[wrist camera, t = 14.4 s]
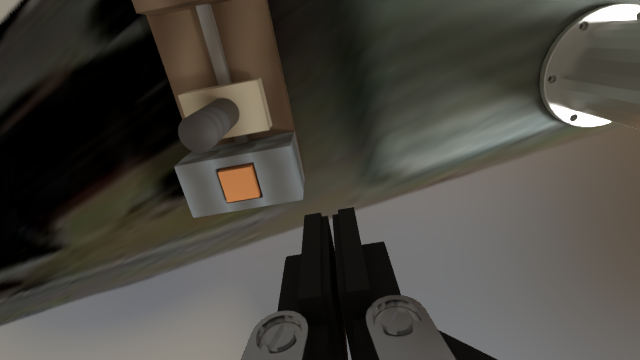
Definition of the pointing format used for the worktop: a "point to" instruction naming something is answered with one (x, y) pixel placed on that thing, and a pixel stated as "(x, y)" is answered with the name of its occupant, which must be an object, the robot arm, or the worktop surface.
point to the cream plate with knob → (222, 113)
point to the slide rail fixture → (223, 68)
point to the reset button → (240, 182)
